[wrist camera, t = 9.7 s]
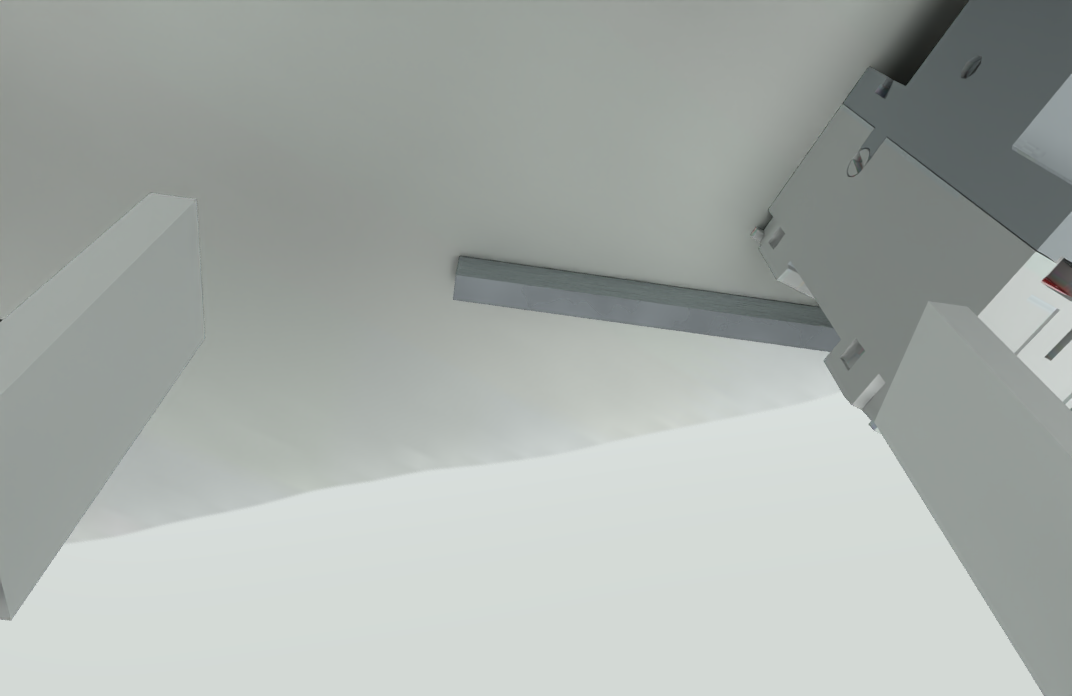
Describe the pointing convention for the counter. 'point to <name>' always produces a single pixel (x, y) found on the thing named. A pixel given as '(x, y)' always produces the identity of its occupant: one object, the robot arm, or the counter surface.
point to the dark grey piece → (643, 304)
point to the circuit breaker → (942, 201)
